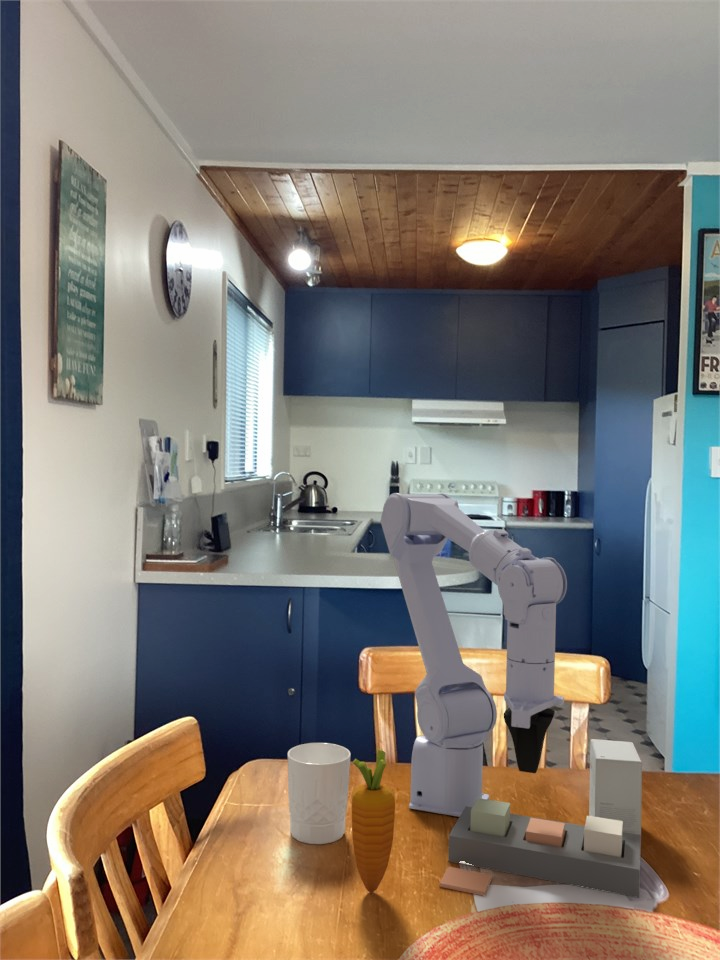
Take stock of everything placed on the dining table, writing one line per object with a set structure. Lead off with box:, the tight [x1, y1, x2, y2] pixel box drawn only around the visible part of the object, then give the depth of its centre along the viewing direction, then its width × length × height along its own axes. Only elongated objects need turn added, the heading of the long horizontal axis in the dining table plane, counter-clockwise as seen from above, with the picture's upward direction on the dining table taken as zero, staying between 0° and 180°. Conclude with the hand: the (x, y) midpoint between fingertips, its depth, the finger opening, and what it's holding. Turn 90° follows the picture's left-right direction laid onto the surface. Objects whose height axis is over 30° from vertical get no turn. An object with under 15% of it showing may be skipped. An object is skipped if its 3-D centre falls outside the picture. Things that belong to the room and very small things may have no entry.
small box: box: [588, 738, 643, 836], centre depth 102 cm, size 8×6×10 cm
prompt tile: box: [439, 866, 493, 896], centre depth 88 cm, size 5×4×1 cm
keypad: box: [447, 806, 642, 898], centre depth 93 cm, size 21×9×3 cm, turn 70°
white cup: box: [287, 742, 351, 845], centre depth 100 cm, size 8×8×10 cm
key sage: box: [470, 798, 511, 837], centre depth 96 cm, size 4×4×4 cm
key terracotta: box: [526, 817, 566, 847], centre depth 93 cm, size 4×4×4 cm
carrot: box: [351, 748, 396, 894], centre depth 85 cm, size 5×5×15 cm
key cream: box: [584, 815, 623, 857], centre depth 91 cm, size 4×4×4 cm
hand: (528, 770), depth 96 cm, fingers closed
